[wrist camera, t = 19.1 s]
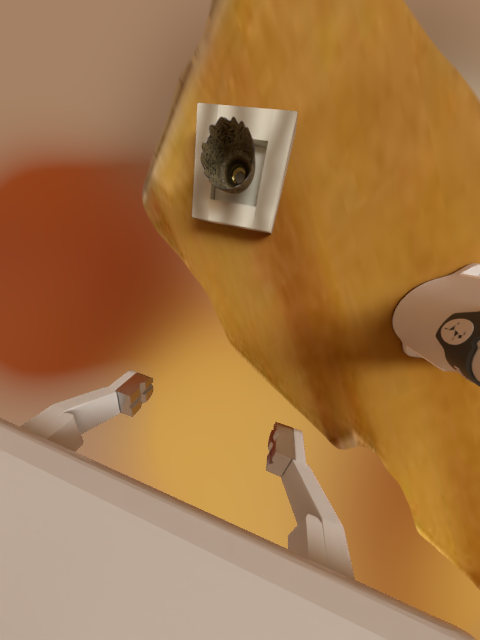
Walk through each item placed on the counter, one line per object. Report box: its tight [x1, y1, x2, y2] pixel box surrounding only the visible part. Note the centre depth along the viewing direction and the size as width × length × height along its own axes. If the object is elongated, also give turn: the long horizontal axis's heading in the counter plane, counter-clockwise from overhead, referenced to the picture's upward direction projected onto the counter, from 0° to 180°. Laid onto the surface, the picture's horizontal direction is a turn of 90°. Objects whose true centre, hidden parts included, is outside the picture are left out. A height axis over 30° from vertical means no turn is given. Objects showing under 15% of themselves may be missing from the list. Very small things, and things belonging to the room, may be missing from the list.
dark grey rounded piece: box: [200, 117, 256, 194], centre depth 26 cm, size 8×7×8 cm
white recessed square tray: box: [192, 103, 298, 234], centre depth 30 cm, size 15×15×5 cm
